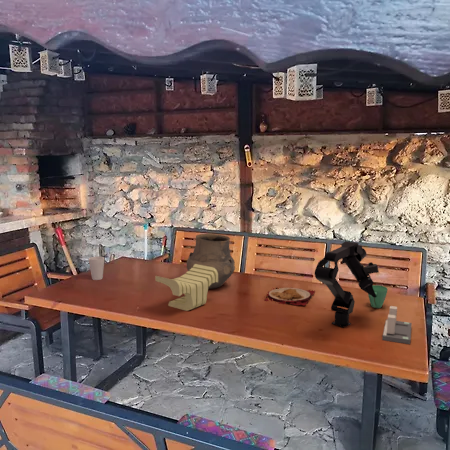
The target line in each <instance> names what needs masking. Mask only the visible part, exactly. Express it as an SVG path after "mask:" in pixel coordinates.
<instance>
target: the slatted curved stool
mask: <svg viewBox="0 0 450 450" xmlns="http://www.w3.org/2000/svg"><path fill="white" fill-rule="evenodd" d="M154 280H155V282H158V283H161V284H163V285H165V286H167V287H168V288H170V290H171V292H172V296H176V297H178V298H176V299H174V300H170V301H168V305H167V306H168V307H171V308H174V309H179V310H182V311H187V312H188V311H190V310H193V309H196V308H198V307H200V306H203V305H205V304H206V303H207V299H208V298H207V297H208V291H209V289H208V287H209V286H210V285H211V283H215V282H218V272H217V270H216V269H215V268H213V267H208V266H203V265H198V264H195V265H194V266H193V268H191V269H190V270H189V271H188V270H187V271H186V272H185V273H184V274H182V275H180V276H178V277H175V278H168V277H162V276H158V275H155V279H154ZM183 294H184V296H182V295H183Z"/></svg>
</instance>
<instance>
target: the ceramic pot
mask: <svg viewBox="0 0 450 450" xmlns="http://www.w3.org/2000/svg"><path fill="white" fill-rule="evenodd" d="M230 239H231V237H229V236H227V235H224V234H215V233H201V234H197V235H195V246H194V249H193V252H191V251H190V253H189V256H188V258H187V260H186V269H187V272H188V271H189V270H190V269H191V268H193V266H194V265H195V264H198V265H203V266H208V267H213V268H215V269H216V270H217V272H218V282H215V283H211V285H210V286H209V287H208V290H209V289H210V290H211V289H217V288H221V286H224V285H223V284H225V283H226V282H227V280H229V279H230V277H231V276H232V275H233V273H234V272H235V269H236V267H235V266H236V265H235V260H234V257H232V255H231V249H230Z"/></svg>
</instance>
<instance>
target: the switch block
mask: <svg viewBox="0 0 450 450" xmlns="http://www.w3.org/2000/svg"><path fill="white" fill-rule="evenodd" d="M387 322H388V318H386V319H385V322H384V327H383V332H382V337H381V340H382V341H387V342H393V343H398V344H406V345H411V340H412V339H411V338H412V322H407V321H401V320H400V321H399V320H396V325H395V333H394V334H388V333H387Z"/></svg>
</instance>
